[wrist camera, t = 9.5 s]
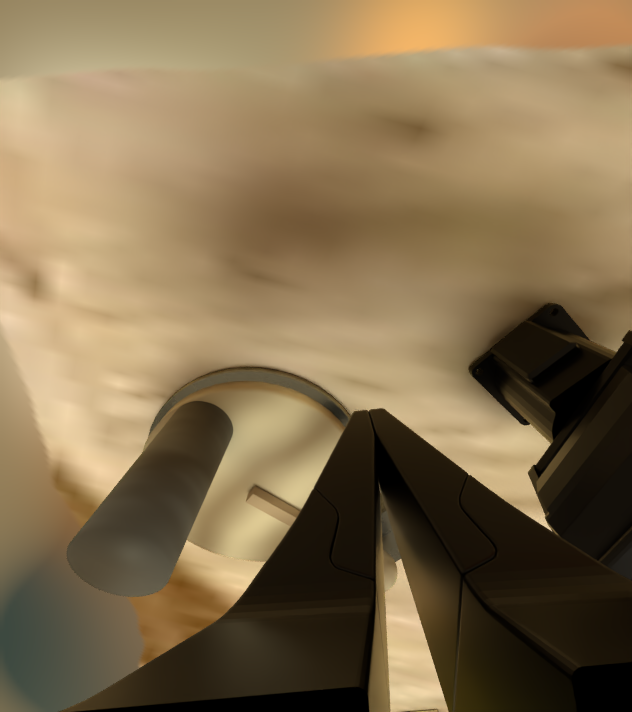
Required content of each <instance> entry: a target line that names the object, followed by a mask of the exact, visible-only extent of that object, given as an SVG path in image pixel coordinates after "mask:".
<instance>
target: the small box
mask: <svg viewBox="0 0 632 712" xmlns="http://www.w3.org/2000/svg"><path fill="white" fill-rule="evenodd" d="M412 712H438V710H437V709H435V710H426V711H412Z"/></svg>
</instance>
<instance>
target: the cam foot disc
mask: <svg viewBox="0 0 632 712" xmlns="http://www.w3.org/2000/svg"><path fill="white" fill-rule="evenodd" d="M344 429H345V427H344V425H343V424H342V423H341V422H340V420H339V419H338V418H337V417H336V416H335V415H334V414H333V413H332V412H331V411H329V410H328V409H327V408H325V407H324V406H323V405H321V404H320V403H319V402H317V401H315V400H314V399H312V398H310V397H308V396H307V395H305V394H302V393H300V392H298V391H295V390H293V389H290V388H287V387H283V386H280V385H277V384H271V383H266V382H257V381H234V382H226V383H220V384H215V385H212V386H209V387H206V388H203V389H200V390H198V391H196V392H194V393H192V394H190V395H188V396H187V397H185V398H184V399H182V400H181V401H179V402H178V403H177V404H176V405H175V406H173V407H172V408H171V409H170V410H169V411H168V412H167V414H166V415H165V416H164V417H163V418H162V420H161V421H160V422H159V423H158V424H157V426H156V427H155V428H154V430H153V431H152V432H151V434H150V436H149V437H148V439H147V441H146V443H145V446H144V449H143V452H142V454H141V455H140V456H139V458H138V459H137V460H136V461H135V463H134V464H133V465H132V466H131V468H130V469H129V470H128V471H127V473H126V474H125V475H124V476H123V478H122V479H121V480H120V481H119V482H118V484H117V485H116V486H115V487H114V489H113V490H112V491H111V492H110V494H109V495H108V496H107V497H106V499H105V500H104V501H103V502H102V504H101V505H100V506H99V507H98V509H97V510H96V511H95V512H94V514H93V515H92V516H91V517H90V518H89V520H88V521H87V522H86V523H85V525H84V526H83V527H82V528H81V530H80V531H79V532H78V533H77V535H76V536H75V537H74V538H73V540H72V541H71V542H70V543H69V545H68V548H67V559H68V562H69V565H70V566H71V568H72V569H73V571H74V572H75V573H76V574H77V575H78V576H79V577H80V578H81V579H82V580H84V581H85V582H87V583H88V584H90V585H92V586H93V587H95V588H97V589H99V590H102V591H104V592H107V593H111V594H115V595H119V596H127V597H139V596H146V595H150V594H153V593H156V592H158V591H159V590H161V589H162V588H163V587H164V586H165V585H166V584H167V583H168V581H169V579H170V576H171V574H172V572H173V570H174V567H175V565H176V563H177V561H178V558H179V556H180V554H181V551H182V549H183V547H184V545H185V542H186V540H188V541H189V542H191V543H193V544H195V545H197V546H199V547H201V548H203V549H205V550H208V551H210V552H213V553H216V554H219V555H222V556H225V557H230V558H234V559H240V560H246V561H260V562H263V561H267V560H268V558H269V557H270V556H271V554H272V553H273V551H274V550H275V549H276V547H277V546H278V544H279V543H280V542H281V540H282V539H283V537H284V536H285V534H286V533H287V531H288V530H289V528H290V527H291V525H292V524H293V522H294V521H295V519H296V518H297V516H298V514H299V513H300V511H301V509H302V507H303V506H304V504H305V502H306V500H307V499H308V497H309V495H310V493H311V491H312V489H314V486H315V484H316V482H317V480H318V478H319V476H320V474H321V472H322V470H323V468H324V467H325V465H326V463H327V461H328V459H329V457H330V455H331V453H332V451H333V450H334V448H335V446H336V444H337V442H338V440H339V438H340V436H341V434H342V432H343V431H344ZM383 565H384V586H385V592H386V591H388V590H390V589H391V588H392V587H393V585H394V584H395V582H396V579H397V567H396V563H395V561H394V559H393V558H392V556H391V555H390V554H389V553H388V552H386V551H385V550H383Z"/></svg>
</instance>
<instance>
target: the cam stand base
mask: <svg viewBox="0 0 632 712" xmlns="http://www.w3.org/2000/svg"><path fill="white" fill-rule="evenodd" d="M234 381H257V382H266V383H271V384H277V385H280V386H283V387H287V388H290V389H293V390H295V391H298V392H300V393H302V394H305V395H307V396H308V397H310V398H312V399H314V400H315V401H317V402H319V403H320V404H321V405H323V406H324V407H325V408H327V409H328V410H329V411H331V412H332V413H333V414H334V415H335V416H336V417H337V418H338V419H339V420H340V422H341V423H342V424H343V425H344V427H346V425H347V423H348V421H349V419H350V417H351V416H350V415H349V413H348V412H347V411H346V410H345V409H344V407H343V406H342V405H341V404H340V403H339V402H338V401H337V400H336V399H334V398H333V397H332V396H331V395H330V394H328V393H327V392H326V391H324V390H323V389H321V388H320V387H318V386H316V385H315V384H313V383H311V382H309V381H307V380H305V379H303V378H300V377H298V376H295V375H293V374H289V373H286V372H282V371H278V370H273V369H266V368H256V367H241V368H231V369H225V370H221V371H216V372H212V373H210V374H207V375H204V376H202V377H199V378H197V379H196V380H194V381H192V382H190V383H188V384H187V385H185V386H184V387H183V388H181V389H180V390H179V391H177V392H176V393H175V394H174V395H173V396H172V397H171V398H170V399H169V400H168V401H167V403H166V404H165V405H164V406H163V407H162V409H161V410H160V411H159V413H158V414H157V416H156V417H155V420H154V422H153V424H152V426H151V429H150V433H149V436H150V434H151V432H152V431H153V430H154V428H155V427H156V426H157V424H158V423H159V422H160V421H161V420H162V418H163V417H164V416H165V415H166V414H167V412H168V411H169V410H170V409H171V408H172V407H173V406H175V405H176V404H177V403H178V402H179V401H181V400H182V399H184V398H185V397H187V396H188V395H190V394H192V393H194V392H196V391H198V390H200V389H203V388H206V387H209V386H212V385H215V384H220V383H226V382H234ZM149 436H148V437H149ZM380 501H381V523H382V544H383V550H385V551H386V552H388V553H389V554H390V555H391V556H392V558H393V559H394V561H395V562H396V561H398V560H399V559H401V556H400V553H399V550H398V546H397V543H396V540H395V537H394V533H393V530H392V527H391V524H390V521H389V517H388V514H387V511H386V508H385V505H384V501H383V498H382V494H381V495H380Z"/></svg>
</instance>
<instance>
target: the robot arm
mask: <svg viewBox="0 0 632 712" xmlns="http://www.w3.org/2000/svg"><path fill="white" fill-rule="evenodd" d="M552 309H554V312H553V313H552V314H550V311H551V310H552ZM622 341H623V342H624V343H623V344H622V346H621V347H620V348H619V350H618V351H617V352H615V351H612V350H610V349H608V348H605V347H603V346H601V345H598V344H596V343H594V342H592V341H590V340H589V339H588V337H587V336H586V335H585V334H584V333H583V331H582V330H581V329H580V328H579V327H578V325H577V324H576V323H575V322H574V321H573V319H572V318H571V317H570V316H569V315H568V313H567V312H566V311H565V310H564V309H563V307H562V306H561V305H559V304H556V303H548V304H547V305H545V306H544V307H543V308H541V309H540V310H539V311H538V312H536V313H535V314H534V315H533V316H531V317H530V318H529V319H528V320H527V321H524V322H523V323H522V324H520V325H519V326H518V327H517V328H515V329H514V330H513V331H512V332H511V333H509V334H508V335H507V336H506V337H504V338H503V339H502V340H501V341H499V342H498V343H497V344H496V345H495V346H493V347H492V349H491V350H490V351H488V352H487V353H486V354H485V355H484V356H482V357H481V358H480V359H479V360H477V361H476V362H475V363H474V364H473V365H472V366H471V367H470V369H469V372H470V374H471V375H472V376H473V377H474V378H475V379H476V380H477V381H478V382H479V383H480V384H481V385H482V386H483V387H484V388H485V389H486V390H487V391H488V392H489V393H490V394H491V395H492V396H493V397H494V398H495V399H496V400H497V401H498V402H499V403H500V404H501V405H502V406H503V407H504V408H505V409H506V410H508V411H509V412H510V413H511V414H512V415H513V416H514V417H515V418H516V419H517V420H518V421H519V422H520V423H521V424H522V425H529V424H531V425H532V426H533V427H534V428H535V429H536V430H537V431H538V432H539V433H540V434H541V435H543V436H544V437H545V438H546V439H547V440H548V441H549V442H550V443H551V445H550V446H549V448H548V449H547V450H546V452H545V453H544V455H543V456H542V457H541V459H540V460H539V462H538V463H537V464H536V465H533V466H532V467H531V469H530V470H529V472H528V474H529V477H530V479H531V482H532V484H533V486H534V489H535V491H536V494H537V496H538V499H539V501H540V503H541V506H542V508H543V511H544V513H545V515H546V516H545V519H546V521H547V524H548V526H549V527H550V528H551V530H552V531H553V532H552V531H550V530H549V529H547V528H546V527H544V526H542V525H541V524H539V523H538V522H536V521H535V520H533V519H532V518H530V517H529V516H527V515H526V514H524V513H523V512H521V511H520V510H518V509H517V508H515V507H514V506H512V505H510V504H509V503H507V502H506V501H504V500H503V499H502V498H500V497H499V496H498V495H496V494H495V493H494V492H492V491H491V490H489V489H488V488H487V487H485V486H484V485H483V484H481V483H480V482H479V481H477V480H476V479H475V478H474V477H472V476H471V475H468V473H467V472H466V471H464V470H463V469H462V468H460V467H459V466H458V465H456V464H455V463H454V462H452V461H451V460H450V459H449V458H447V457H446V456H445V455H443V454H442V453H441V452H439V451H438V450H437V449H436V448H434V447H433V446H432V445H430V444H429V443H428V442H426V441H425V440H424V439H423V438H421V437H420V436H419V435H417V434H416V433H415V432H413V431H412V430H411V429H410V428H408V427H407V426H406V425H404V424H403V423H402V422H400V421H399V420H398V419H397V418H395V417H394V416H393V415H391V414H390V413H389V412H387V411H386V410H385V409H383V408H379V409H371V410H369V412H368V411H367V410H361V411H354V412H353V414H352V415H351V417H350V419H349V421H348V423H347V425H346V427H345V429H344V431H343V432H342V434H341V436H340V438H339V440H338V442H337V444H336V446H335V448H334V450H333V451H332V453H331V455H330V457H329V459H328V461H327V463H326V465H325V467H324V468H323V470H322V472H321V474H320V476H319V478H318V480H317V482H316V484H315V486H314V489H312V491H311V493H310V495H309V497H308V499H307V500H306V502H305V504H304V506H303V507H302V509H301V511H300V513H299V514H298V516H297V518H296V519H295V521H294V522H293V524H292V525H291V527H290V528H289V530H288V531H287V533H286V534H285V536H284V537H283V539H282V540H281V542H280V543H279V544H278V546H277V547H276V549H275V550H274V551H273V553H272V554H271V556H270V557H269V558H268V560H267V561H266V563H265V564H264V565H263V567H262V568H261V570H260V571H259V573H258V574H257V575H256V577H255V578H254V580H253V581H252V582H251V584H250V585H249V587H248V588H247V589H246V591H245V592H244V593H243V595H242V596H241V597H240V599H239V600H238V601H237V602H236V603H235V604H234V605H233V606H232V607H231V608H230V609H229V610H228V611H227V612H226V613H225V614H224V615H223V616H222V617H221V618H220V619H218V620H217V621H216V622H214V623H213V624H211V625H209V626H208V627H206V628H204V629H203V630H201V631H200V632H198V633H196V634H195V635H193V636H191V637H190V638H188V639H187V640H185V641H183V642H182V643H180V644H178V645H177V646H175V647H173V648H172V649H170V650H169V651H167V652H165V653H164V654H162V655H160V656H159V657H157V658H155V659H154V660H152V661H151V662H149V663H147V664H146V665H144V666H142V667H141V668H139V669H137V670H136V671H134V672H133V673H131V674H129V675H128V676H126V677H124V678H123V679H121V680H120V681H118V682H116V683H115V684H113V685H111V686H110V687H108V688H106V689H105V690H103V691H101V692H99V693H98V694H96V695H94V696H92V697H90V698H88V699H87V700H85V701H82V702H80V703H78V704H76V705H74V706H71V707H69V708H67V709H64V710H62V711H59V712H390V692H389V671H388V650H387V629H386V607H385V586H384V565H383V544H382V523H381V501H380V491H381V494H382V498H383V501H384V505H385V508H386V511H387V514H388V517H389V521H390V524H391V527H392V530H393V533H394V537H395V540H396V543H397V546H398V550H399V553H400V556H401V559H402V562H403V566H404V569H405V572H406V575H407V579H408V582H409V585H410V588H411V591H412V595H413V598H414V601H415V604H416V608H417V611H418V614H419V617H420V620H421V624H422V627H423V630H424V633H425V637H426V640H427V643H428V646H429V649H430V653H431V656H432V659H433V662H434V665H435V669H436V672H437V675H438V678H439V682H440V685H441V688H442V691H443V694H444V698H445V701H446V704H447V707H448V711H449V712H632V331H630V330H629V331H628V332H627V334H626V335H625V337H624V338H623V339H622ZM477 369H480V371H479V372H478V373H475V372H476V370H477ZM524 418H525V419H524ZM379 486H380V488H379Z"/></svg>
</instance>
